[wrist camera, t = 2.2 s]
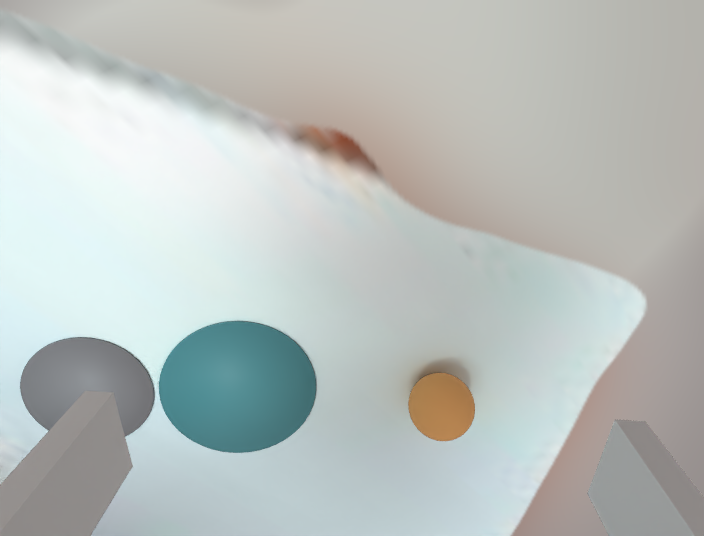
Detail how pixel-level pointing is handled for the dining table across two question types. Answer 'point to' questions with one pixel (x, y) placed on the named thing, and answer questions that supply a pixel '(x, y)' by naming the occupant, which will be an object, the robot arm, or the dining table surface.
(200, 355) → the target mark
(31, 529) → the robot arm
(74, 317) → the dining table surface
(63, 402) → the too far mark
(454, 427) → the ball
